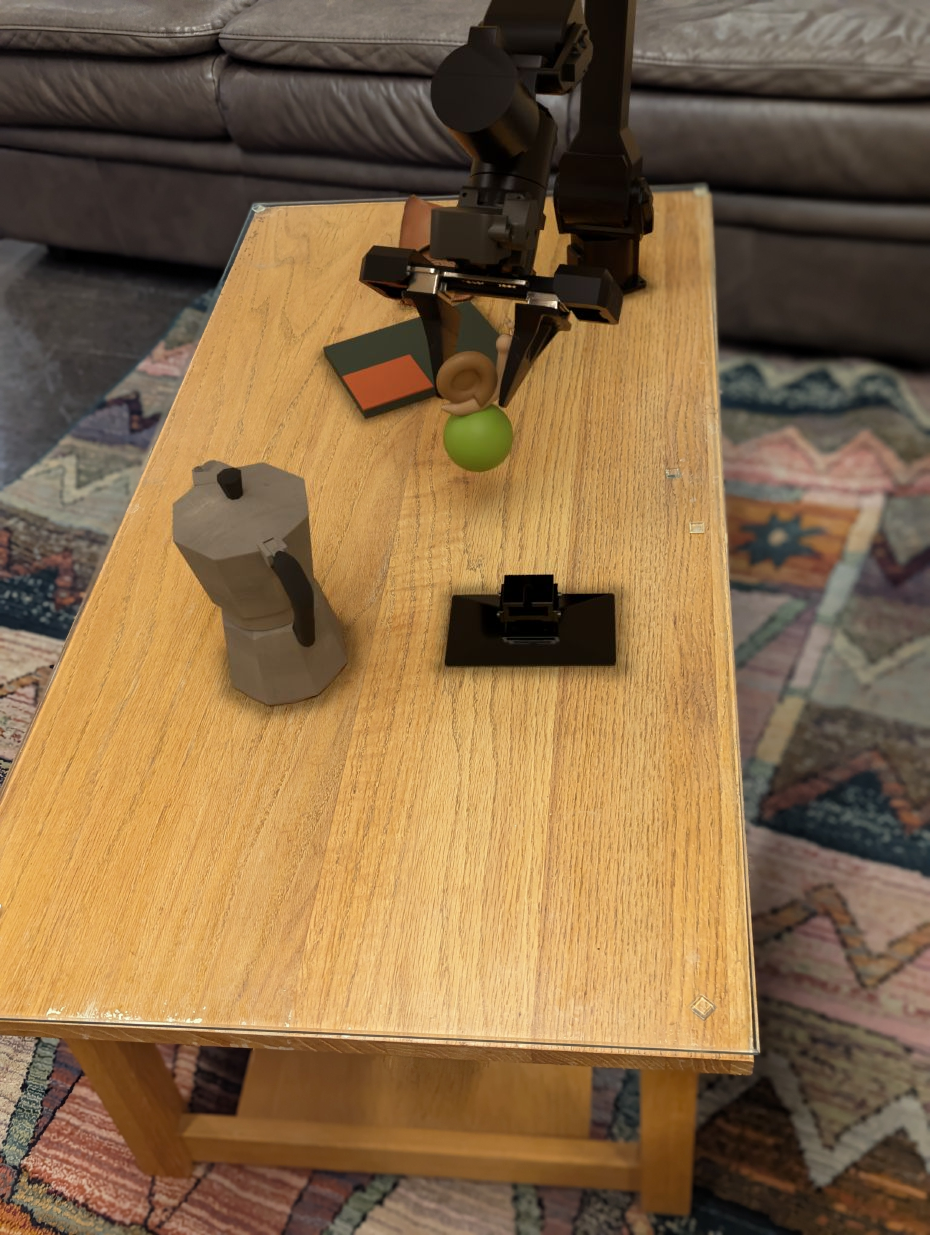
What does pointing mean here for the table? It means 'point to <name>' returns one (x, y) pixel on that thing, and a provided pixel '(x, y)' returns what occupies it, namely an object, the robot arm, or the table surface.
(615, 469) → the table surface
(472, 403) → the snail figurine
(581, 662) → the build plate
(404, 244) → the sunglasses case
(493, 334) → the corner mat
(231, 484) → the coffeepot
